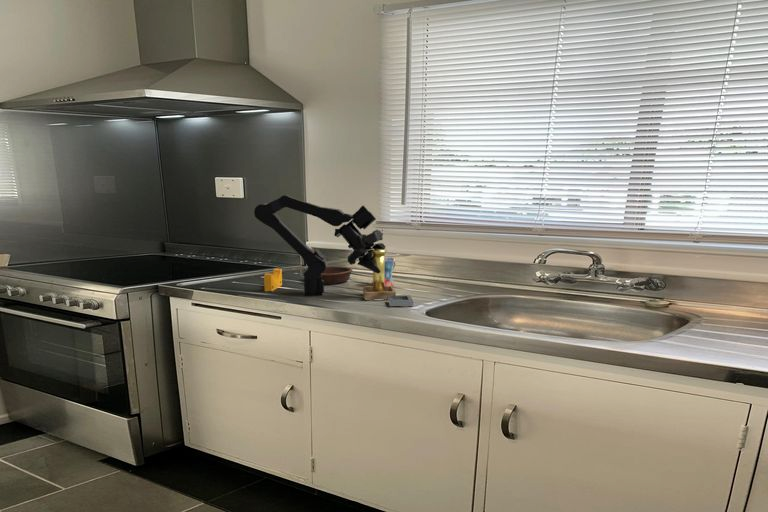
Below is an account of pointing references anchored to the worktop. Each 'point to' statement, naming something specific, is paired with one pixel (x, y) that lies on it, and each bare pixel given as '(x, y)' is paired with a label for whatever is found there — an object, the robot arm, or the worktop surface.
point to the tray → (378, 293)
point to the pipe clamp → (273, 280)
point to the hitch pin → (380, 262)
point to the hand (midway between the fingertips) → (382, 271)
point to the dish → (336, 275)
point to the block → (400, 300)
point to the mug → (388, 271)
